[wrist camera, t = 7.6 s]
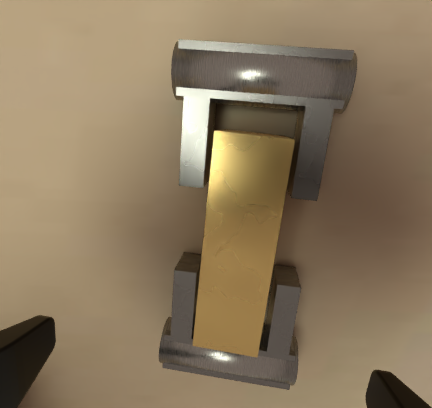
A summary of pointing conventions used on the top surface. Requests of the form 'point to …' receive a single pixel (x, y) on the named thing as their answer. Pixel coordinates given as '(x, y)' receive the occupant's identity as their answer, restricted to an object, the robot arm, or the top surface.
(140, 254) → the top surface
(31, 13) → the top surface
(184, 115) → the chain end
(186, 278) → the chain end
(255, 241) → the gold ingot
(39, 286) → the top surface
